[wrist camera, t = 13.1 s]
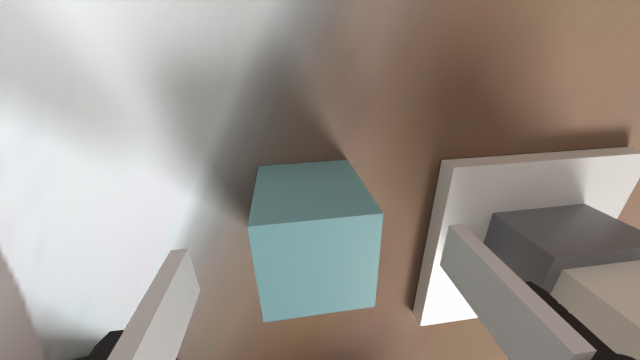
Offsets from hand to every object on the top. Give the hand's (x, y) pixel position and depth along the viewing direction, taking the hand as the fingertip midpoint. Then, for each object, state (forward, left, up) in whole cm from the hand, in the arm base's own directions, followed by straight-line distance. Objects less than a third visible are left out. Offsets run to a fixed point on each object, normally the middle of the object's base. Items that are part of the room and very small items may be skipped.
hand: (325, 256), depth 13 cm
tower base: (+18, -6, -6) cm, 19 cm away
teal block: (0, 0, -6) cm, 6 cm away
